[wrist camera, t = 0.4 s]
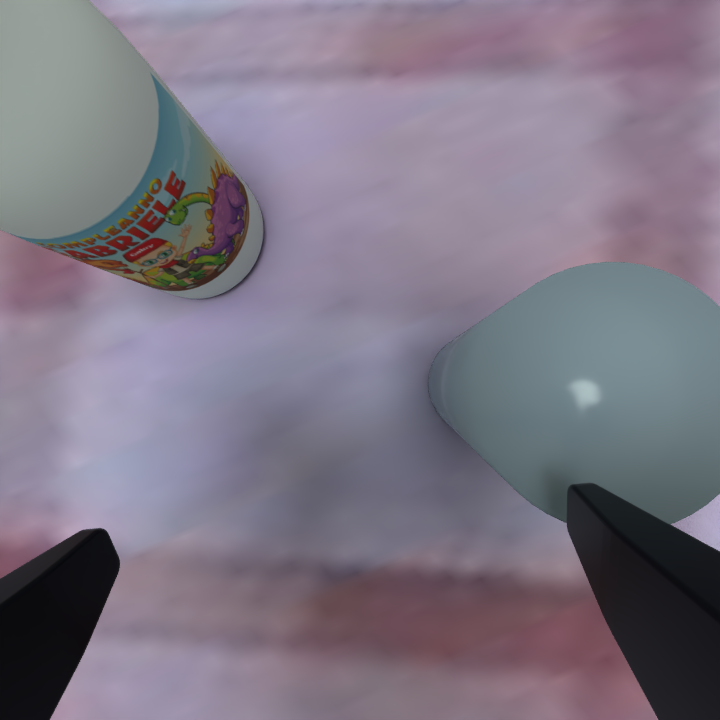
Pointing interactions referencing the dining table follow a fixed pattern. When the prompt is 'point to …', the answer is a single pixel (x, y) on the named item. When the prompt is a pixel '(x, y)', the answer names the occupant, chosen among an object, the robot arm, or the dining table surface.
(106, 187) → the milk bottle
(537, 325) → the tumbler
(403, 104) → the dining table surface
